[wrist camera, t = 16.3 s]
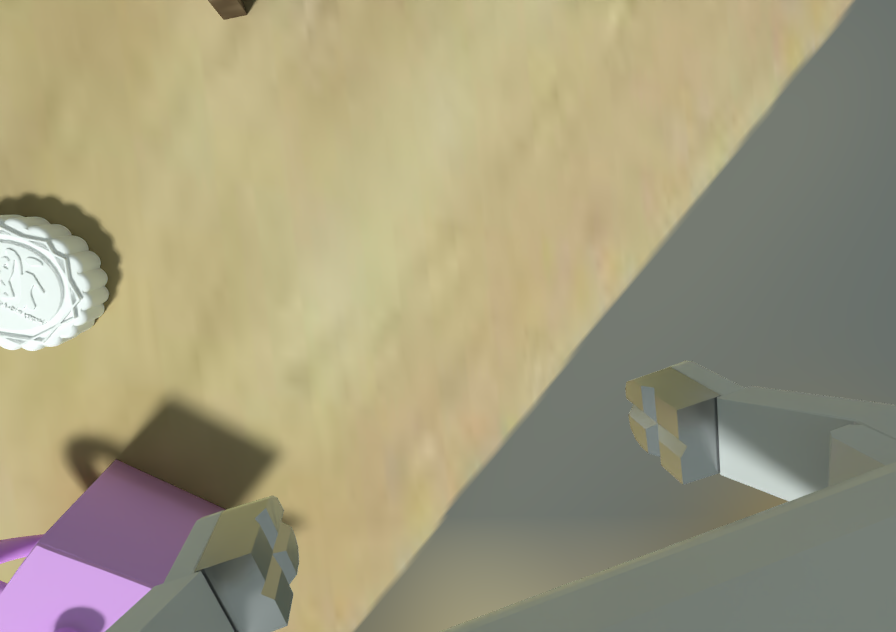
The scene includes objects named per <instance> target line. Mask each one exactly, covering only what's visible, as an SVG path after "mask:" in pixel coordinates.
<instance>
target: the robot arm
mask: <svg viewBox="0 0 896 632" xmlns="http://www.w3.org/2000/svg"><path fill="white" fill-rule="evenodd" d="M625 389H626V398H627V399H628V400H629V401H630V402H632V404H633V407H632V409H631V411H630V413H629V420H630V427H631V429H632V432H633V434H634V436H635V439H636V440H637V441H638V443H639V444H640V446H641V447H642V448H643V449H644V450H645V451H646V452H647V453H649V454H653V455H656V456H659V457H661V465H662V466H663V467H664V468H665V469H666V470H667V471H668V472H670V473H671V474H672V475H673V476H674V477H675V478H676V479H677V480H678V481H679V482H680V483H682V484H687V483H689V482H693V481H696V480H699V479H702V478H705V477H708V476H711V475H714V474H717V473H720V475H723V476H725V477H728V478H730V479H733V480H736V481H738V482H741V483H743V484H746V485H748V486H751V487H754V488H756V489H759V490H761V491H764V492H767V493H769V494H772V495H774V496H777V497H779V498H782V499H785V500H787V501H789V502H786V503H784V504H781V505H778V506H776V507H773V508H770V509H768V510H765V511H762V512H760V513H757V514H755V515H752V516H749V517H746V518H744V519H741V520H738V521H735V522H733V523H730V524H727V525H725V526H722V527H719V528H717V529H714V530H711V531H708V532H706V533H703V534H700V535H698V536H695V537H692V538H689V539H687V540H684V541H681V542H679V543H676V544H673V545H671V546H668V547H665V548H662V549H660V550H658V551H654V552H652V553H649V554H646V555H644V556H641V557H638V558H635V559H633V560H630V561H627V562H625V563H622V564H619V565H617V566H614V567H611V568H608V569H606V570H603V571H601V572H598V573H595V574H592V575H590V576H587V577H584V578H581V579H579V580H576V581H573V582H571V583H568V584H566V585H563V586H560V587H557V588H555V589H552V590H549V591H547V592H544V593H541V594H539V595H536V596H533V597H531V598H528V599H525V600H523V601H520V602H517V603H515V604H512V605H509V606H507V607H504V608H501V609H499V610H496V611H494V612H491V613H488V614H485V615H482V616H480V617H477V618H474V619H472V620H469V621H466V622H464V623H461V624H458V625H456V626H453V627H450V628H448V629H445V630H442V631H440V632H896V405H892V404H885V403H876V402H869V401H862V400H854V399H847V398H839V397H830V396H824V395H816V394H808V393H801V392H793V391H786V390H778V389H771V388H763V387H755V386H750V387H747V388H744V387H742V386H740V385H738V384H736V383H734V382H732V381H730V380H728V379H726V378H724V377H722V376H720V375H718V374H716V373H714V372H712V371H710V370H708V369H706V368H704V367H702V366H700V365H698V364H696V363H694V362H692V361H684V362H681V363H678V364H676V365H673V366H670V367H667V368H665V369H662V370H660V371H657V372H654V373H651V374H648V375H645V376H642V377H639V378H636V379H633V380H631V381H628V382H627V383H626V388H625ZM283 512H284V510H283V508H282V506H281V504H280V502H279V500H278V498H276V497H274V496H269V497H266V498H263V499H259V500H256V501H253V502H249V503H246V504H243V505H239V506H236V507H233V508H229V509H226V510H222V511H219V512H216V513H213V514H210V515H207V516H204V517H202V518H200V519H199V520H197V521H196V522H195V524H194V526H193V528H192V530H191V532H190V534H189V535H188V537H187V539H186V541H185V543H184V545H183V547H182V549H181V551H180V552H179V554H178V556H177V558H176V560H175V562H174V564H173V566H172V568H171V569H170V571H169V573H168V575H167V577H166V579H165V581H164V583H163V584H160V585H157V586H154V587H153V588H152V589H151V590H150V591H149V592H148V593H147V594H146V595H144V596H143V597H142V598H141V599H140V600H139V601H138V602H137V603H136V604H135V605H134V606H132V607H131V608H130V609H129V610H128V611H127V612H126V613H125V614H124V615H123V616H121V617H120V618H119V619H118V620H117V621H116V622H115V623H114V624H113V625H112V626H110V627H109V628H108V629H107V630H106V631H105V632H272V631H275V630H277V629H280V628H283V627H285V626H287V625H288V620H289V614H290V609H291V604H292V598H293V592H292V590H291V588H290V586H289V584H290V583H291V581H292V580H293V579H294V578H295V576H296V575H297V571H298V565H299V554H298V545H297V541H296V537H295V534H294V532H293V530H292V527H290V526H289V525H287V524H285V523H283V522H281V520H282V516H283Z"/></svg>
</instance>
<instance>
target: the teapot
mask: <svg viewBox="0 0 896 632" xmlns="http://www.w3.org/2000/svg"><path fill="white" fill-rule="evenodd" d="M222 510H226V509H224V508H222V507H219V506H217V505H215V504H213V503H211V502H208V501H206V500H204V499H202V498H200V497H197V496H195V495H193V494H191V493H189V492H187V491H184V490H182V489H180V488H178V487H176V486H173V485H171V484H169V483H167V482H165V481H162V480H160V479H158V478H156V477H154V476H152V475H149V474H147V473H145V472H143V471H141V470H138V469H136V468H134V467H132V466H130V465H128V464H125V463H123V462H121V461H119V460H117V459H116V460H115V461H114V462H113V463H112V464H111V465H110V466H109V467H108V468H107V469H106V470H105V471H104V472H103V473H102V474H101V475H100V476H99V477H98V478H97V480H96V481H95V482H94V483H93V484H92V485H91V486H90V487H89V488H88V489H87V490H86V491H85V492H84V493H83V494H82V495H81V496H80V497H79V498H78V500H77V501H76V502H75V503H74V504H73V505H72V506H71V507H70V508H69V509H68V510H67V511H66V512H65V513H64V514H63V515H62V516H61V517H60V518H59V520H58V521H57V522H56V523H55V524H54V525H53V526H52V527H51V528H50V529H49V530H48V531H47V532H46V533H45V534H43V535H34V536H26V537H18V538H11V539H5V540H0V564H1V563H4V562H7V561H10V560H14V559H18V558H22V557H26V559H25V560H24V561H23V563H22V564H21V566H20V567H19V568H18V570H17V571H16V573H15V574H14V576H13V577H12V578H11V580H10V581H9V583H8V584H7V583H5V582H2V581H0V632H105V631H106V630H107V629H108V628H109V627H110V626H112V625H113V624H114V623H115V622H116V621H117V620H118V619H119V618H120V617H121V616H123V615H124V614H125V613H126V612H127V611H128V610H129V609H130V608H131V607H132V606H134V605H135V604H136V603H137V602H138V601H139V600H140V599H141V598H142V597H143V596H144V595H146V594H147V593H148V592H149V591H150V590H151V589H152V588H153V587H154V586H157V585H160V584H163V583H164V581H165V579H166V577H167V575H168V573H169V571H170V569H171V568H172V566H173V564H174V562H175V560H176V558H177V556H178V554H179V552H180V551H181V549H182V547H183V545H184V543H185V541H186V539H187V537H188V535H189V534H190V532H191V530H192V528H193V526H194V524H195V522H196V521H197V520H199V519H200V518H202V517H204V516H207V515H210V514H213V513H216V512H219V511H222Z"/></svg>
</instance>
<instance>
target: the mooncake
mask: <svg viewBox="0 0 896 632" xmlns="http://www.w3.org/2000/svg"><path fill="white" fill-rule="evenodd" d="M100 265H101V261H100V258H99V257H98V255H97V254H95V253H94V252H92V251H89V248H88V244H87V243H86V241H85V240H84V239H82V238H81V237H78V236H73V235H72V234H71V232H70V231H69V229H68V228H66V227H65V226H63V225H60V224H50V223H49V222H48V221H47V220H46V219H44V218H41V217H24V216H21V215H15V214H14V215H0V346H2V347H3V348H5V349H9V350H16V349H20V348H24V349H26V350H29V351H36V350H39V349H42V348H44V347H46V346H48V347H54V346H58V345H60V344H62V343H64V342H66V341H68V340H70V339H72V338H74V337H76V336H78V335H79V334H80V333H82V332H84V331H86V330H88V329H90V328H91V327H92V326H93V325H94V323H95V319H96V318H98V317H100V316H101V315H102V314H103V313H104V305H103V303H104V302H105V301H107V299H108V297H109V292H108V290H107V288H106V287H105V285H106V283H107V281H108V277H107V274H106V272H105V271H104V270H102V269H101V268H100Z"/></svg>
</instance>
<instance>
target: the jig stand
mask: <svg viewBox="0 0 896 632" xmlns="http://www.w3.org/2000/svg"><path fill="white" fill-rule="evenodd" d="M208 1H209V2H210V3H211V5H212V6H213V7H214V8H215V10H216V11H217V12H218V13H219V15H220V16H221V17H222V18H223V20H224V19H229V18H234V17H239V16H244V15H247V14H246V11H245V8H244V5H243V2H242V0H208Z"/></svg>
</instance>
